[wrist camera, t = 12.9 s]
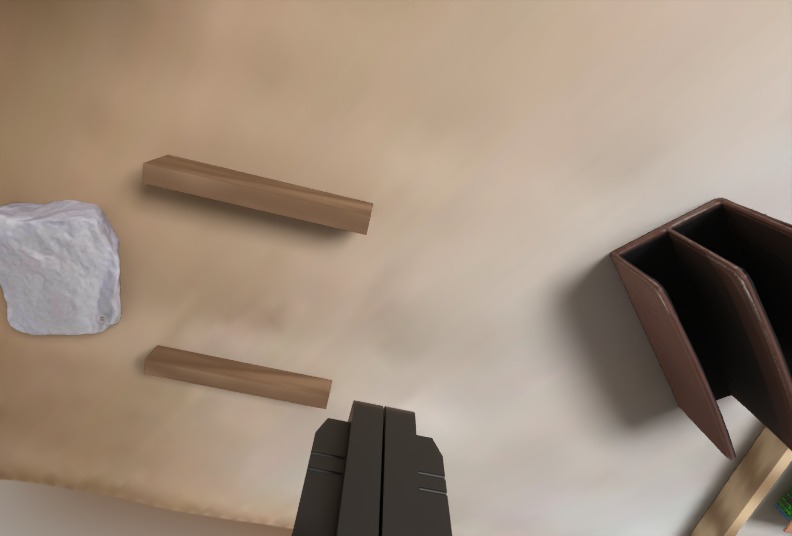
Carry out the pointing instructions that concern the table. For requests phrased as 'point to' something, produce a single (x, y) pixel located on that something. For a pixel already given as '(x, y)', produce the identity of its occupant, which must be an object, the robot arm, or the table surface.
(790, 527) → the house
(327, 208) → the pair of wooden bars
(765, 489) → the wooden picture frame
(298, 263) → the table surface
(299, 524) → the robot arm
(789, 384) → the letter holder
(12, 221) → the stone block
